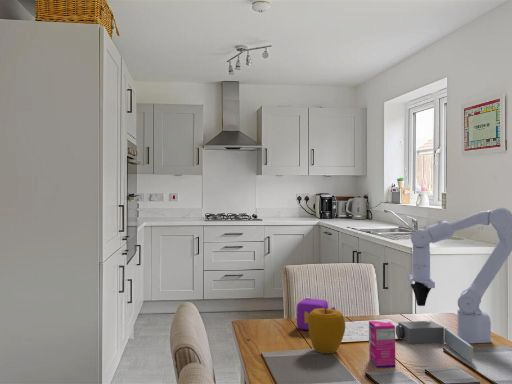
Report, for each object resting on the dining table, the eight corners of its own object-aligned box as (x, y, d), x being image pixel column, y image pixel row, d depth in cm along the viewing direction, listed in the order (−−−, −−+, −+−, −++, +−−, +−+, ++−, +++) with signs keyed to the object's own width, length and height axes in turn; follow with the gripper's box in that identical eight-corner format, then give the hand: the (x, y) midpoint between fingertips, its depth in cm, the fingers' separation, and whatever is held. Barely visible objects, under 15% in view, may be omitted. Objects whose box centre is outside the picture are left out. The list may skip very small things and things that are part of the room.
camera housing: (431, 335, 161) (431, 318, 161) (443, 343, 153) (443, 325, 153) (394, 337, 159) (394, 320, 159) (405, 344, 151) (406, 326, 151)
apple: (347, 347, 148) (347, 305, 148) (341, 358, 138) (341, 313, 138) (312, 343, 152) (312, 302, 152) (304, 354, 142) (304, 310, 142)
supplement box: (368, 360, 136) (368, 320, 137) (388, 360, 137) (388, 319, 137) (374, 368, 131) (375, 325, 131) (396, 367, 131) (396, 325, 131)
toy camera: (336, 334, 163) (336, 304, 163) (295, 331, 165) (295, 302, 165) (337, 325, 173) (337, 297, 173) (299, 323, 176) (299, 295, 176)
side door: (443, 341, 153) (443, 327, 153) (448, 341, 153) (448, 327, 153) (469, 361, 134) (469, 346, 134) (474, 361, 134) (474, 346, 134)
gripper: (400, 262, 170) (400, 301, 170) (420, 268, 156) (420, 311, 156) (419, 261, 171) (419, 300, 171) (440, 268, 157) (440, 310, 157)
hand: (421, 305), depth 163 cm, fingers closed
